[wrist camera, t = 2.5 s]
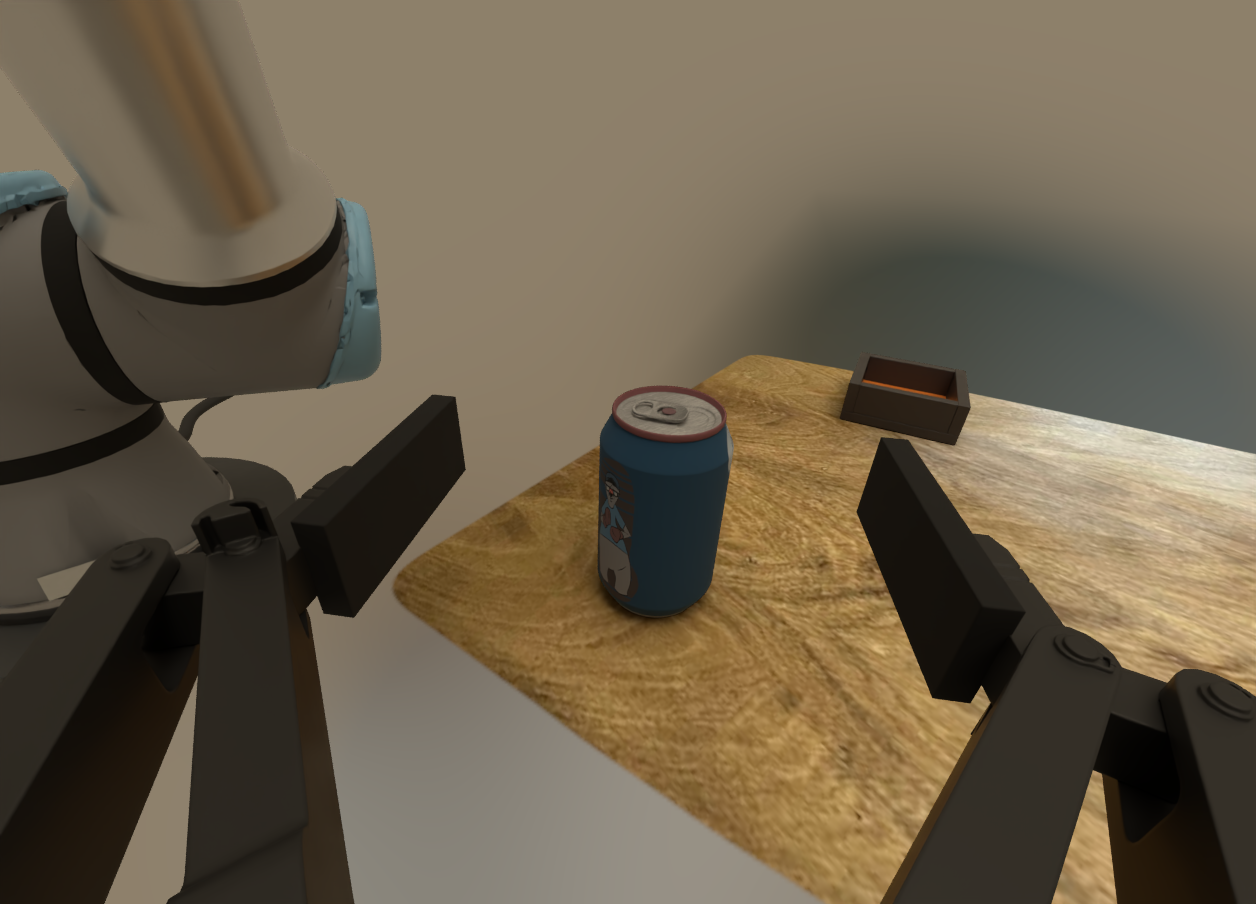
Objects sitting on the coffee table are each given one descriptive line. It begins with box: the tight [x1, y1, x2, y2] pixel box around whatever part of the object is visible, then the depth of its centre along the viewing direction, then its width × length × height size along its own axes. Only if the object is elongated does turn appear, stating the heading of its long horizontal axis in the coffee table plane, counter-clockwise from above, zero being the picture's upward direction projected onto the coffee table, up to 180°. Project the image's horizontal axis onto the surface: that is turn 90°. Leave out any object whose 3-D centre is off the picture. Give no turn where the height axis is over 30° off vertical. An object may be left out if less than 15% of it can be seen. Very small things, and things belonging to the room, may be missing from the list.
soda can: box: [598, 386, 734, 618], centre depth 29 cm, size 7×7×12 cm
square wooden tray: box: [840, 352, 971, 445], centre depth 54 cm, size 10×10×4 cm
